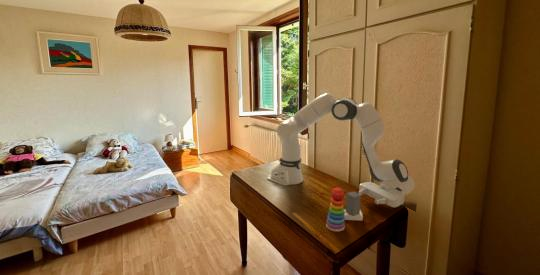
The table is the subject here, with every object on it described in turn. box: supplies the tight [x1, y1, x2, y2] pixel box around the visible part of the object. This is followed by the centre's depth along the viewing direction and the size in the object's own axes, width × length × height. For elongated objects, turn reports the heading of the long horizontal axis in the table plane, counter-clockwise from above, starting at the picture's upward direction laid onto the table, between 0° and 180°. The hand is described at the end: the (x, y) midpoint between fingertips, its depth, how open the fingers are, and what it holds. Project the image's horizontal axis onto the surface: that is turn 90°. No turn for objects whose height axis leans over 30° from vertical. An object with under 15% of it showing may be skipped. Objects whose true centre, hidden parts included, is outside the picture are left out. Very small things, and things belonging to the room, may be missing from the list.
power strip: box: [344, 208, 364, 221], centre depth 114 cm, size 11×5×4 cm, turn 83°
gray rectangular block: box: [345, 191, 362, 216], centre depth 112 cm, size 4×4×11 cm
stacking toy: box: [325, 187, 346, 232], centre depth 106 cm, size 8×8×19 cm
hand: (367, 197), depth 116 cm, fingers open, 8 cm apart
